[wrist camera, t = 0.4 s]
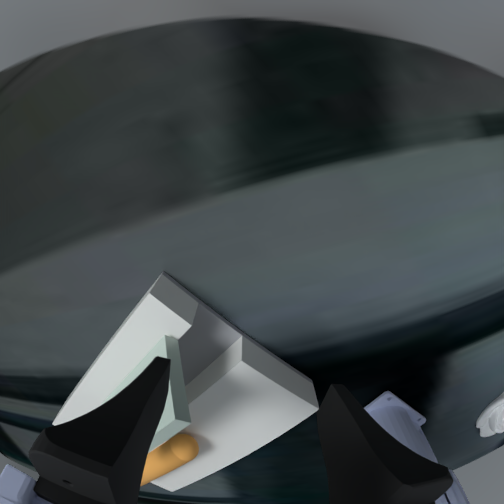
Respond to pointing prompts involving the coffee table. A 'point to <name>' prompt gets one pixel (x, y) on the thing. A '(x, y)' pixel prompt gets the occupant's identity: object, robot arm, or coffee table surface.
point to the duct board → (202, 380)
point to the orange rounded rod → (169, 457)
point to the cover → (176, 403)
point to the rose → (492, 418)
